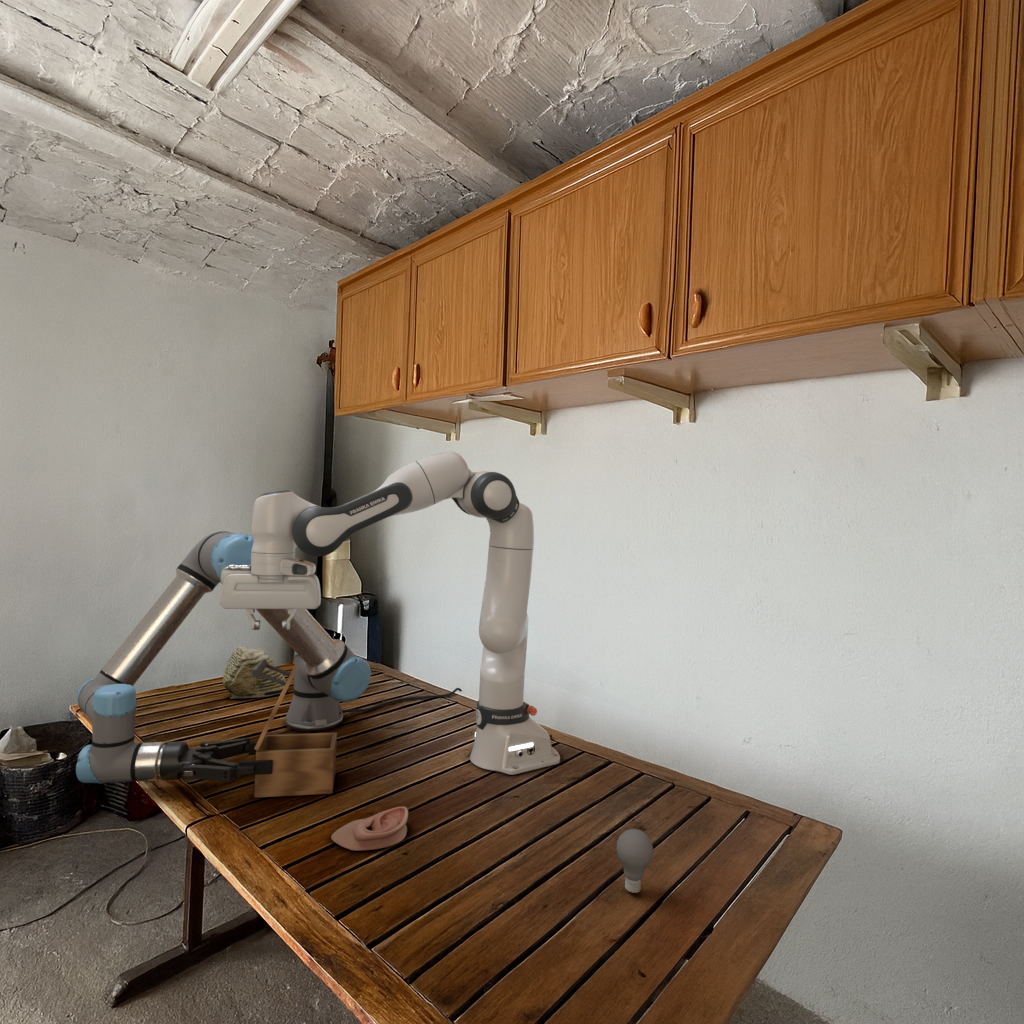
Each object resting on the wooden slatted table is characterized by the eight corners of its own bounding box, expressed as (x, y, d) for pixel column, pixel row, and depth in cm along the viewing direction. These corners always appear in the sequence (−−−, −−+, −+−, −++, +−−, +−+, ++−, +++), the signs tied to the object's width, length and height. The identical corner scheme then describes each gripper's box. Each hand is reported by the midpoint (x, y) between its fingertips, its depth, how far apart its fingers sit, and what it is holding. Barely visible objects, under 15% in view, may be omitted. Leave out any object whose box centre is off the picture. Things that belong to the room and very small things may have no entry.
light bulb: (610, 879, 108) (613, 822, 108) (644, 879, 109) (647, 822, 109) (619, 902, 102) (622, 840, 102) (655, 901, 103) (658, 840, 103)
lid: (299, 664, 143) (265, 651, 141) (293, 677, 133) (256, 662, 131) (266, 733, 142) (231, 720, 140) (257, 750, 132) (220, 737, 130)
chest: (335, 773, 145) (336, 732, 145) (332, 793, 135) (334, 749, 135) (262, 777, 142) (264, 734, 141) (254, 797, 132) (255, 752, 132)
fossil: (218, 695, 195) (220, 647, 195) (278, 685, 208) (279, 640, 207) (228, 703, 189) (230, 653, 188) (289, 692, 201) (290, 645, 201)
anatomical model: (323, 824, 115) (352, 795, 126) (322, 845, 115) (351, 815, 126) (392, 835, 112) (415, 805, 123) (391, 857, 112) (414, 825, 123)
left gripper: (179, 757, 144) (283, 753, 148) (144, 804, 122) (266, 797, 127) (180, 724, 144) (284, 721, 148) (145, 765, 122) (268, 760, 126)
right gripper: (217, 566, 131) (215, 632, 131) (320, 567, 135) (318, 632, 135) (224, 563, 137) (222, 626, 137) (322, 564, 141) (320, 626, 142)
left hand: (276, 756), depth 137 cm, fingers closed on chest, 10 cm apart
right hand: (270, 629), depth 136 cm, fingers open, 5 cm apart
